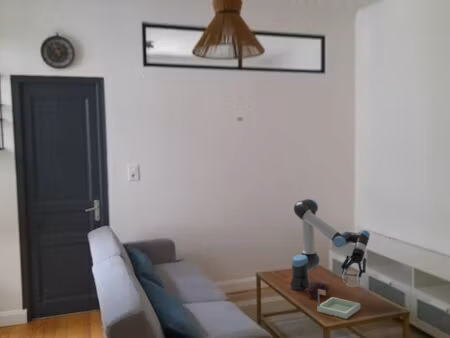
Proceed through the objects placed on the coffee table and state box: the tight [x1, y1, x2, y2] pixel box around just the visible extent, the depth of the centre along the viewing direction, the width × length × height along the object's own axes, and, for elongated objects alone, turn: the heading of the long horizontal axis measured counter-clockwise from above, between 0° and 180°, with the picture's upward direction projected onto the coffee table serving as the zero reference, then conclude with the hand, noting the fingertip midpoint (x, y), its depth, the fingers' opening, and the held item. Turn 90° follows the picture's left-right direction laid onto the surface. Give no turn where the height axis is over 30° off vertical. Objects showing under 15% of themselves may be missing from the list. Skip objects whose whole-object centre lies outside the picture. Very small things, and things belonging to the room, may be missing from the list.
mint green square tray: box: [316, 289, 361, 320], centre depth 282 cm, size 20×20×14 cm
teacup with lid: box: [342, 267, 360, 288], centre depth 295 cm, size 12×9×12 cm
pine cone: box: [304, 282, 330, 298], centre depth 307 cm, size 18×10×10 cm, turn 101°
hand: (349, 279), depth 292 cm, fingers closed on teacup with lid, 9 cm apart
